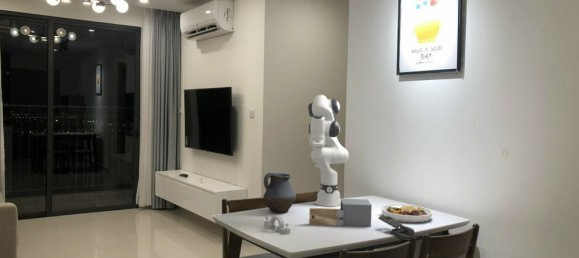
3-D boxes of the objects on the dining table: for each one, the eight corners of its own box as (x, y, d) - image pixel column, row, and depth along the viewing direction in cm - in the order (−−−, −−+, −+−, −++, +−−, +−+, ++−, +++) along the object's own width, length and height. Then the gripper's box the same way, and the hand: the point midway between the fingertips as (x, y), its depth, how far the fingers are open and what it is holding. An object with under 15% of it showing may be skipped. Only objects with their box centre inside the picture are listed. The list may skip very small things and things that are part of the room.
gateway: (264, 227, 252) (264, 212, 252) (267, 226, 254) (268, 212, 254) (286, 235, 237) (286, 220, 237) (290, 234, 239) (290, 219, 238)
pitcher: (302, 213, 286) (303, 173, 284) (273, 217, 273) (274, 175, 271) (282, 206, 302) (283, 169, 301) (254, 210, 289) (255, 171, 288)
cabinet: (334, 218, 274) (334, 198, 274) (367, 219, 274) (367, 199, 273) (336, 225, 257) (336, 204, 256) (371, 227, 256) (372, 205, 255)
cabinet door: (309, 223, 261) (309, 207, 260) (340, 224, 260) (340, 208, 260) (309, 225, 257) (309, 209, 257) (340, 226, 257) (341, 210, 256)
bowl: (373, 212, 293) (374, 200, 292) (417, 211, 299) (417, 199, 298) (393, 225, 263) (394, 211, 263) (441, 223, 270) (442, 210, 269)
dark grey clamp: (389, 215, 257) (420, 226, 235) (389, 227, 258) (419, 239, 235) (376, 216, 254) (406, 228, 231) (376, 228, 254) (406, 241, 231)
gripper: (311, 141, 281) (311, 163, 282) (312, 144, 261) (311, 168, 261) (322, 141, 281) (321, 164, 282) (323, 144, 260) (322, 168, 261)
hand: (316, 166), depth 271 cm, fingers open, 8 cm apart
